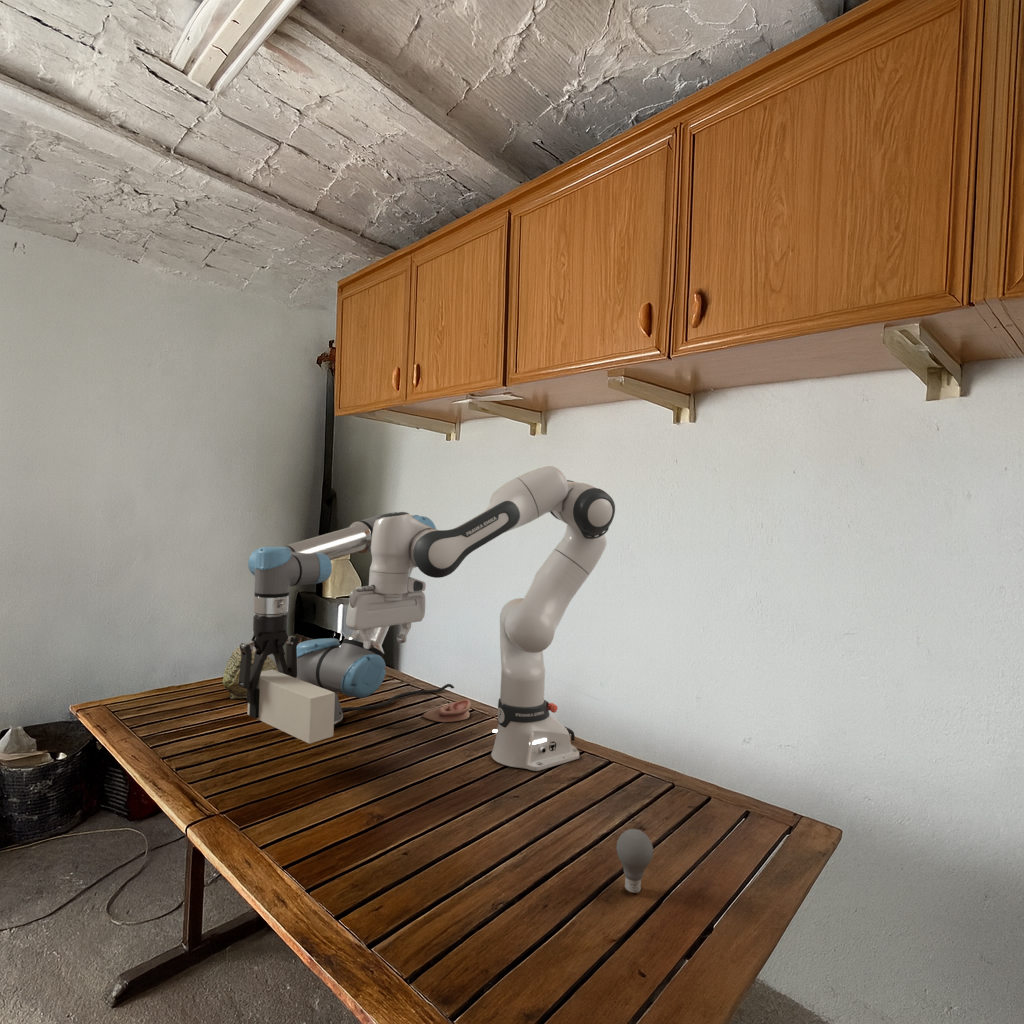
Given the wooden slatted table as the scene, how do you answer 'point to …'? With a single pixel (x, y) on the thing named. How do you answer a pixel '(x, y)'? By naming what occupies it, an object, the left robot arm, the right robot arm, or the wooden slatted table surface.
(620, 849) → the light bulb
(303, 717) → the bar
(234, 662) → the fossil
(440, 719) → the anatomical model
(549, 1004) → the wooden slatted table surface
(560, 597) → the right robot arm
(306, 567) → the left robot arm
